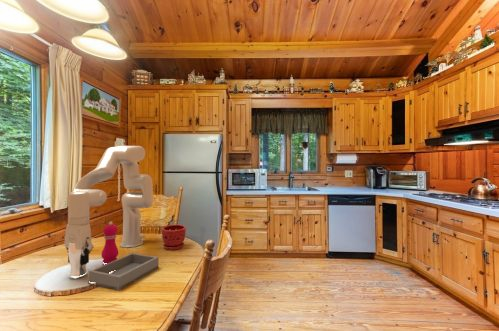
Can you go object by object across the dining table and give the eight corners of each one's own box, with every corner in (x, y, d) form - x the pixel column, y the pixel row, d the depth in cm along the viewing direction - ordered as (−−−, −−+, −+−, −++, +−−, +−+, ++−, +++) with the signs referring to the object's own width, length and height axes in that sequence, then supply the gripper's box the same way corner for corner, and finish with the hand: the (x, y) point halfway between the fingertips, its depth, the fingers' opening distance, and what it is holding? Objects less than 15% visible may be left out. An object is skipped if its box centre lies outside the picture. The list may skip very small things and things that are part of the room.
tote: (131, 263, 118) (132, 253, 118) (158, 267, 113) (158, 257, 114) (88, 284, 97) (88, 271, 97) (118, 290, 92) (119, 277, 92)
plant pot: (158, 247, 143) (158, 226, 143) (179, 242, 152) (179, 223, 152) (167, 253, 133) (167, 231, 133) (189, 248, 142) (189, 227, 142)
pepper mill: (110, 266, 114) (111, 223, 114) (97, 265, 116) (98, 222, 116) (121, 260, 121) (122, 220, 121) (109, 259, 123) (109, 219, 123)
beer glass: (92, 272, 107) (92, 238, 107) (79, 280, 100) (79, 243, 100) (77, 271, 108) (77, 237, 108) (63, 279, 101) (64, 242, 101)
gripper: (55, 220, 103) (54, 263, 103) (85, 224, 97) (85, 269, 97) (73, 217, 110) (72, 257, 110) (102, 220, 105) (101, 262, 105)
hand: (78, 262), depth 104 cm, fingers closed on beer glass, 6 cm apart
